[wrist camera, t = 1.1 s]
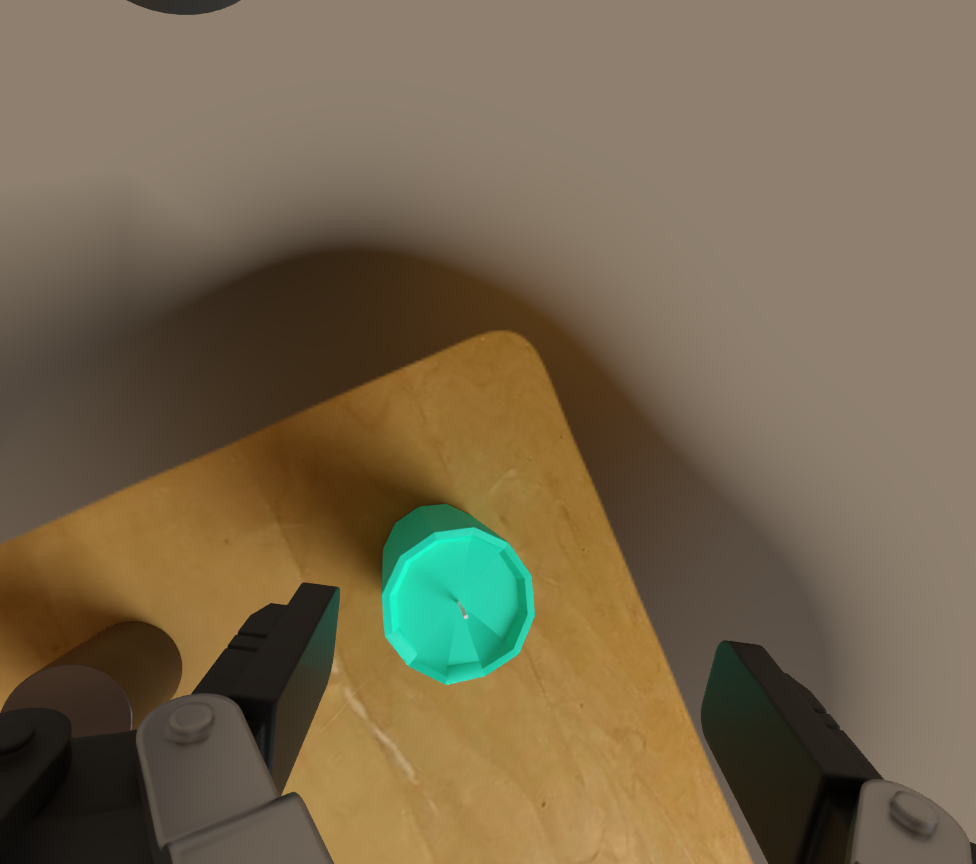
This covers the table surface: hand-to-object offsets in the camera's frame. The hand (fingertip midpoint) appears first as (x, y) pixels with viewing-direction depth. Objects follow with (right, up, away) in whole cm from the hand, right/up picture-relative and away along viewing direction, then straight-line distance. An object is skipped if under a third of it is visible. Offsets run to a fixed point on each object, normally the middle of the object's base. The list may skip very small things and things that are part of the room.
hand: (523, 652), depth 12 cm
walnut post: (-19, -8, +17) cm, 27 cm away
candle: (-4, -2, +21) cm, 21 cm away
